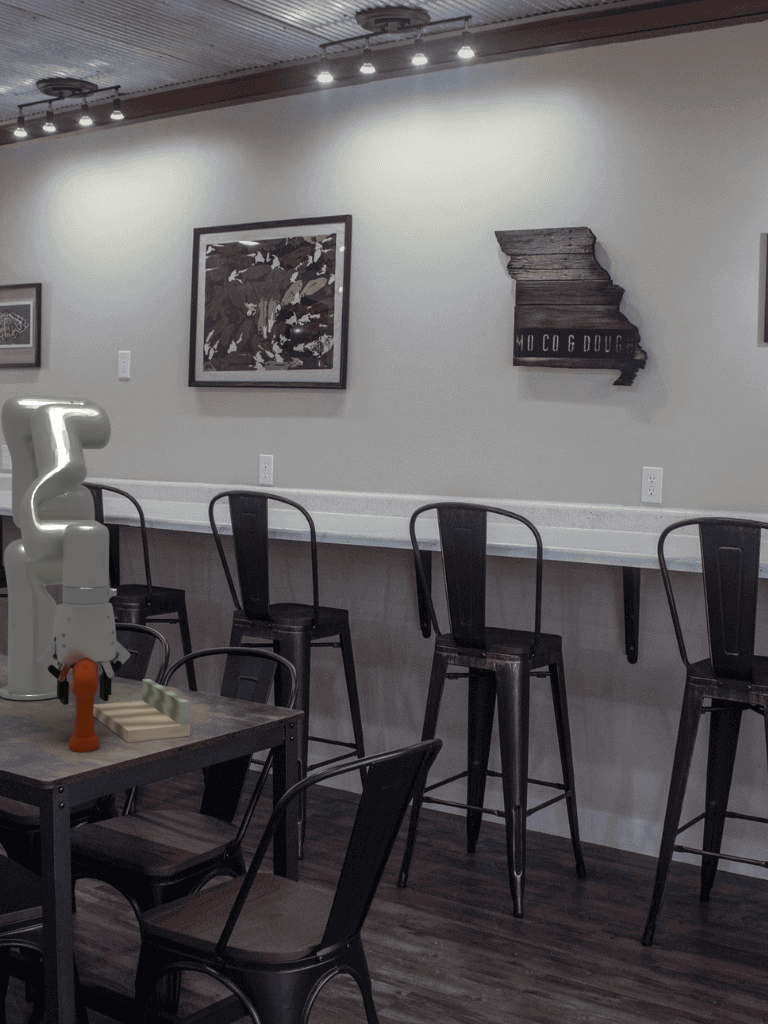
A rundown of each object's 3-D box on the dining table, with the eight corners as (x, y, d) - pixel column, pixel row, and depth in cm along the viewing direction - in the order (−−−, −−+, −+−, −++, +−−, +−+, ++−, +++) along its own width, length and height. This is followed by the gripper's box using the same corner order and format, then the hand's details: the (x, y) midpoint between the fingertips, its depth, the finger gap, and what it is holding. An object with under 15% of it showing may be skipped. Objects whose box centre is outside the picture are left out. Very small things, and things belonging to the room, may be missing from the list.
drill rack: (92, 715, 204) (93, 683, 204) (149, 709, 210) (150, 678, 209) (127, 742, 185) (128, 707, 185) (190, 735, 191) (190, 701, 190)
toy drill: (98, 716, 197) (100, 635, 195) (99, 756, 179) (100, 668, 177) (70, 717, 196) (71, 636, 193) (68, 758, 178) (69, 669, 175)
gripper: (128, 592, 193) (127, 693, 194) (28, 595, 185) (27, 701, 185) (142, 597, 187) (140, 701, 188) (38, 601, 178) (37, 710, 179)
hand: (84, 700), depth 186 cm, fingers open, 6 cm apart
